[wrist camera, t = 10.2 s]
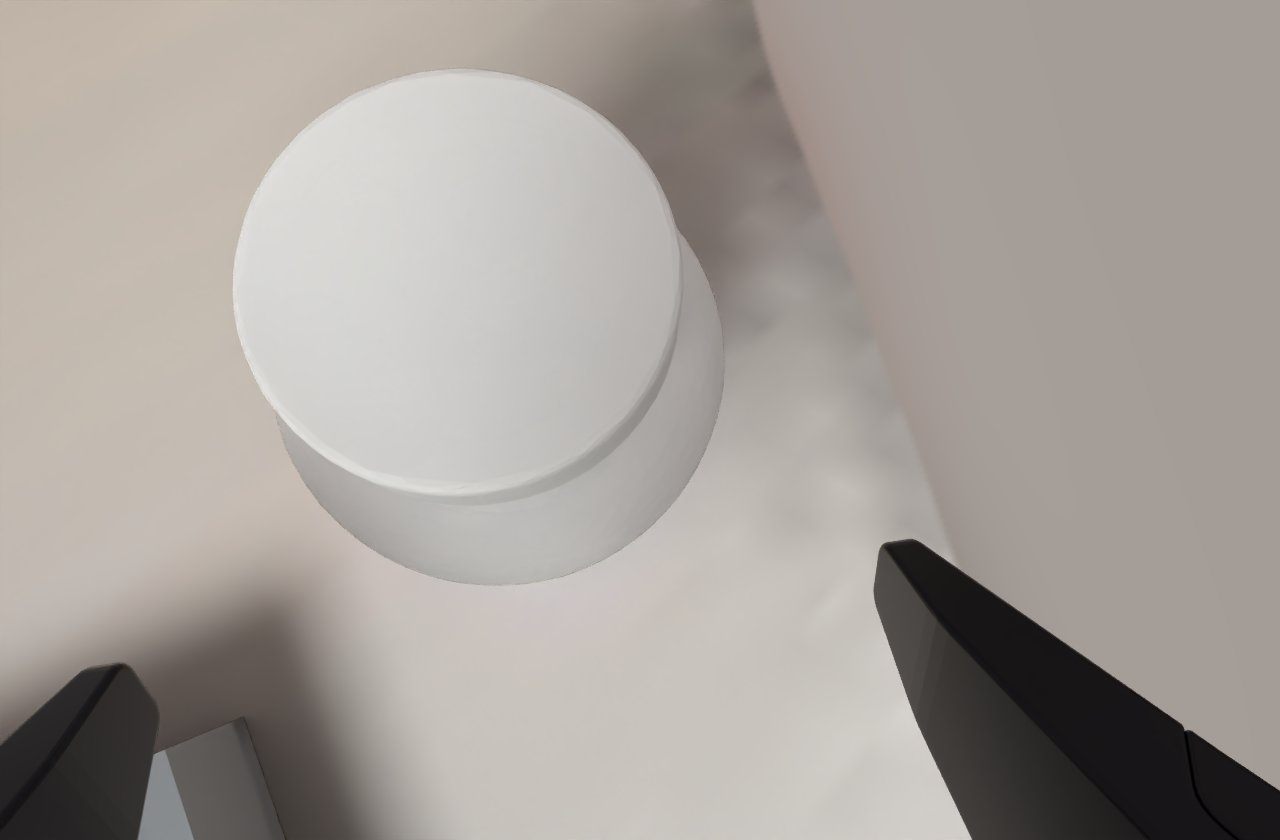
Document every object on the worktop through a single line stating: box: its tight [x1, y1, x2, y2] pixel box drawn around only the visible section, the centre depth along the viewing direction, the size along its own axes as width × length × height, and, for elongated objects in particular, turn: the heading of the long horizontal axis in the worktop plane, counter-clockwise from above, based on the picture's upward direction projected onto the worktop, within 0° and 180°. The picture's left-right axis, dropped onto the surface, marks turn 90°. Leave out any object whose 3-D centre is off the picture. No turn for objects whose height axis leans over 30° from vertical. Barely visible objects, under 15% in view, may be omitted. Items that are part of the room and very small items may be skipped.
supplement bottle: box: [233, 68, 724, 585], centre depth 14 cm, size 7×7×13 cm
